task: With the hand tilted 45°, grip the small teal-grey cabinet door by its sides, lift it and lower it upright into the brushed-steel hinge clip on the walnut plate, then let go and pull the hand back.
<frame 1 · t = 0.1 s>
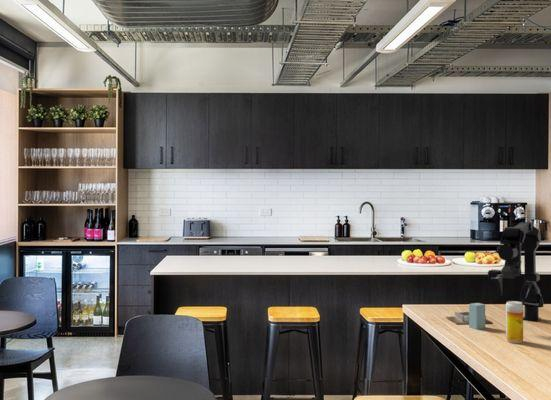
hand: (513, 296, 214), 15 cm above the table, tool pointing down, fingers open, 9 cm apart
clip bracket: (468, 320, 234), on the table
cabinet door: (477, 327, 222), on the table
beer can: (514, 342, 201), on the table
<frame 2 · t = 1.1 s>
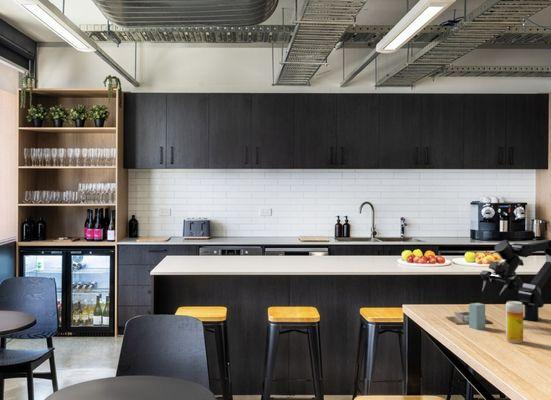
hand: (491, 294, 225), 13 cm above the table, tool tilted 45°, fingers open, 9 cm apart
nothing on the table moved.
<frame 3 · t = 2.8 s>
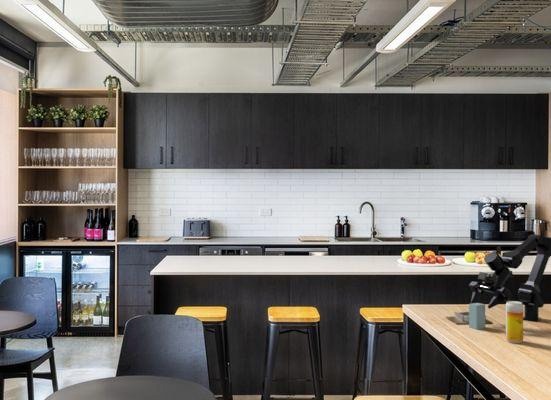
hand: (479, 305, 222), 9 cm above the table, tool tilted 45°, fingers open, 9 cm apart
nothing on the table moved.
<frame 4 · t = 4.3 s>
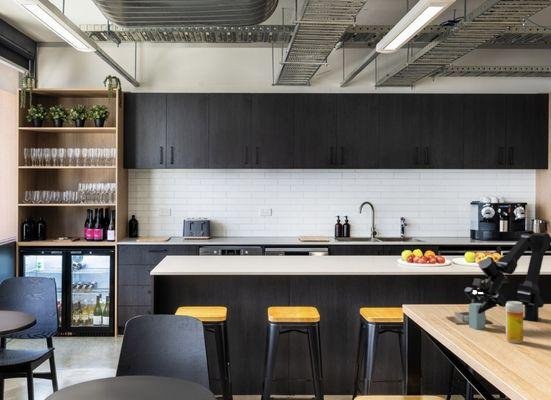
hand: (474, 312, 221), 7 cm above the table, tool tilted 45°, fingers closed on cabinet door, 4 cm apart
cabinet door: (477, 327, 222), on the table, touching gripper
everything else where it was.
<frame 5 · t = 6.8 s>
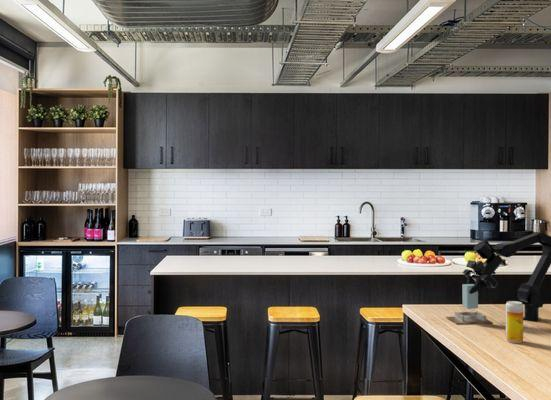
hand: (467, 292, 230), 13 cm above the table, tool tilted 45°, fingers closed on cabinet door, 4 cm apart
cabinet door: (470, 307, 230), point 7 cm above the table, touching gripper
everything else where it was.
when the fingers open (9 cm above the table, at t = 9.2 s): cabinet door drops 1 cm, resting on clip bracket.
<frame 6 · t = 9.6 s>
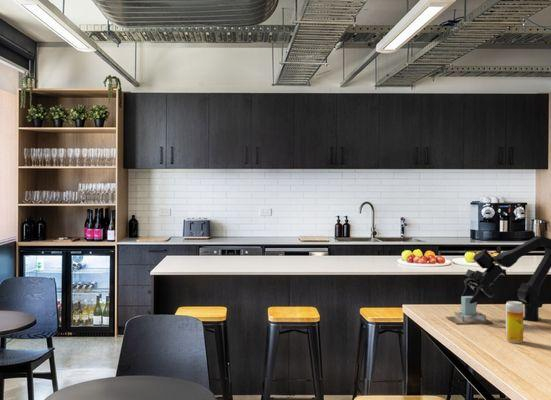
hand: (465, 301, 234), 9 cm above the table, tool tilted 45°, fingers open, 8 cm apart
cabinet door: (468, 319, 234), point 1 cm above the table, touching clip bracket
everything else where it was.
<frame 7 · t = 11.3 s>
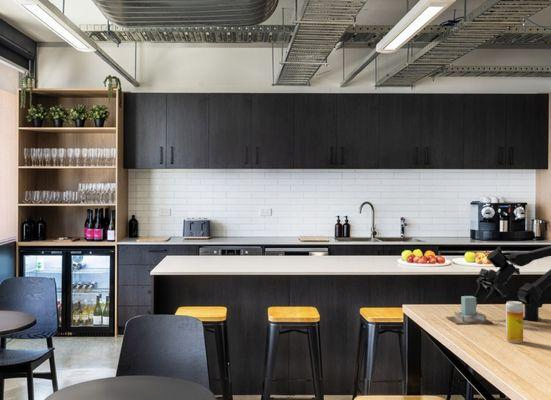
hand: (479, 300, 234), 9 cm above the table, tool tilted 45°, fingers open, 9 cm apart
nothing on the table moved.
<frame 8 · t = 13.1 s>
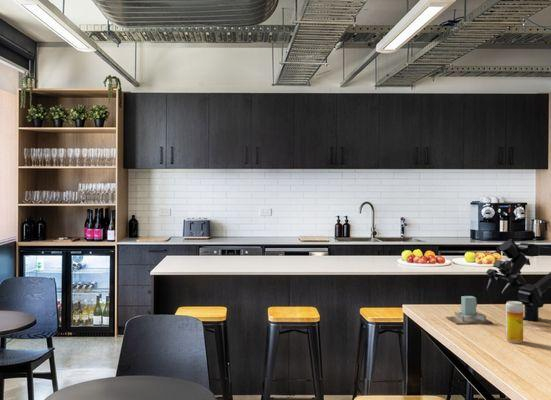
hand: (494, 292, 229), 14 cm above the table, tool tilted 45°, fingers open, 9 cm apart
nothing on the table moved.
at the end: cabinet door 0.0 cm off-centre on the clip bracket, point 0.6 cm above the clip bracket's base; cabinet door tilted 0°; the gripper is holding nothing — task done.
